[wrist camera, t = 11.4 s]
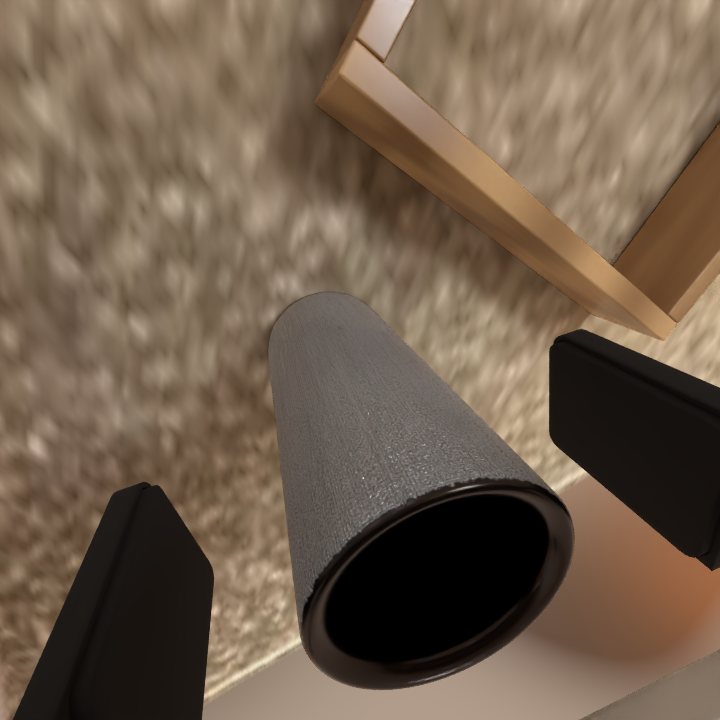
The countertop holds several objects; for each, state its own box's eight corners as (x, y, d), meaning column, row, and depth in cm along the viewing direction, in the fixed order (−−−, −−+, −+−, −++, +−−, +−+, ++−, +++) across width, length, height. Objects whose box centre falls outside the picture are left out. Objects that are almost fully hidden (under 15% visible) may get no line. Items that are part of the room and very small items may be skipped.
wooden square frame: (313, 103, 12) (337, 73, 8) (640, -571, 8) (877, -1027, 5) (591, 314, 18) (664, 342, 15) (845, -23, 14) (1010, -81, 11)
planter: (329, 417, 16) (432, 713, 7) (241, 355, 14) (228, 660, 5) (405, 340, 16) (620, 554, 7) (325, 263, 14) (479, 422, 4)
